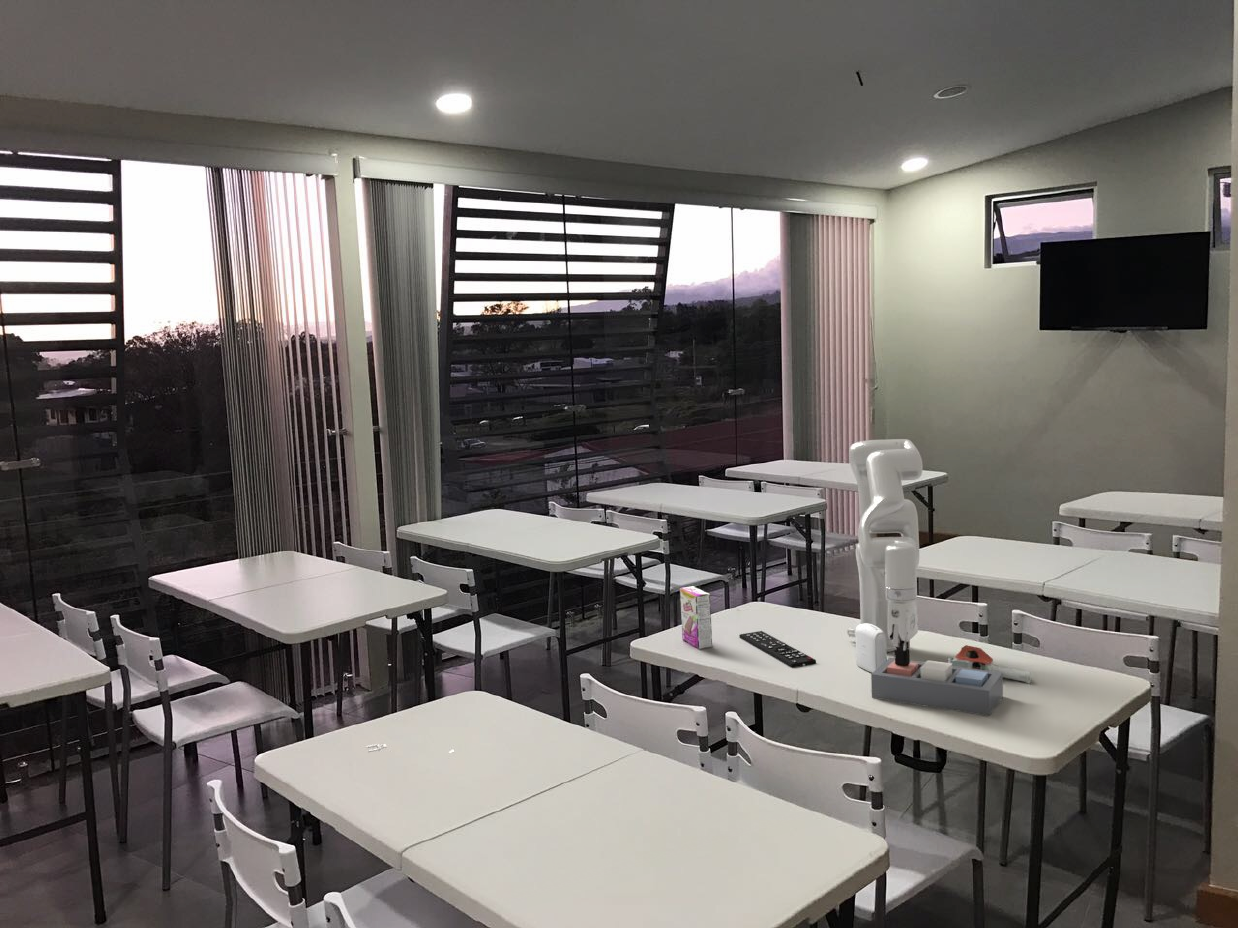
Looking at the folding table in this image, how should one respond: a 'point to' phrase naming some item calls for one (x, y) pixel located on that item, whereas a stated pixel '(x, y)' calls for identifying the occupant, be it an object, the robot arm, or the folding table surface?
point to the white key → (936, 671)
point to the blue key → (972, 677)
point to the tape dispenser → (985, 663)
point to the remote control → (777, 649)
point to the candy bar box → (696, 617)
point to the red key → (902, 669)
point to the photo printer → (870, 647)
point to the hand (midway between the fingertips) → (902, 664)
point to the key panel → (938, 690)
